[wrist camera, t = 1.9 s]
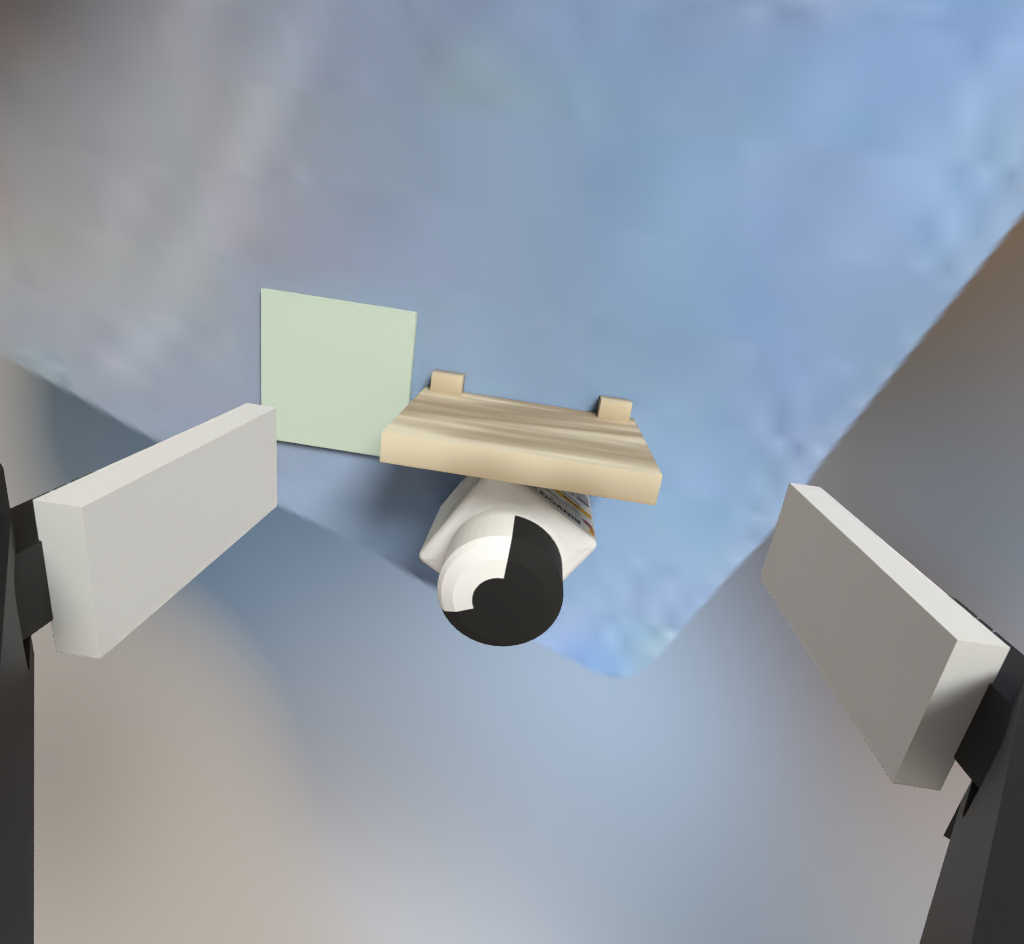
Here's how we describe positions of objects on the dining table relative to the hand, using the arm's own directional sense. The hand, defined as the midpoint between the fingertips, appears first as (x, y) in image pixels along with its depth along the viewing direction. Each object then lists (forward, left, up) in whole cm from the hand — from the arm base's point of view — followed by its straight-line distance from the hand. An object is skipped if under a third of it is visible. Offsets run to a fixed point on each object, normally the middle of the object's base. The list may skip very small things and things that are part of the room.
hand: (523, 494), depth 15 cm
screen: (+4, 0, -25) cm, 25 cm away
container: (+11, 0, -25) cm, 27 cm away
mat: (+4, -13, -25) cm, 28 cm away
